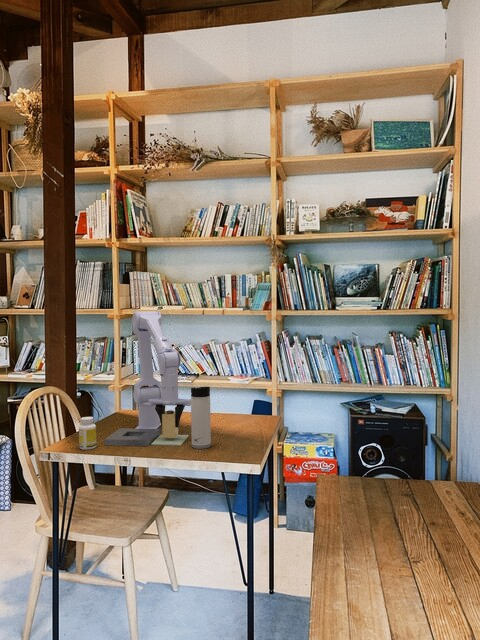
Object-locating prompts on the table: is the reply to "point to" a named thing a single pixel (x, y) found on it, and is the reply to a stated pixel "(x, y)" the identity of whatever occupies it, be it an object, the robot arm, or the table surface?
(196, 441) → the travel mug
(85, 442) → the supplement bottle
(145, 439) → the square plate with hole
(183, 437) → the mat
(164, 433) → the end cover
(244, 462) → the table surface
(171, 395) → the robot arm
